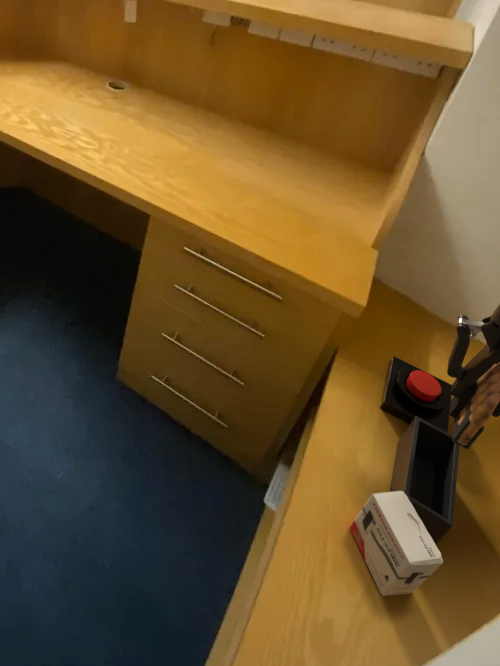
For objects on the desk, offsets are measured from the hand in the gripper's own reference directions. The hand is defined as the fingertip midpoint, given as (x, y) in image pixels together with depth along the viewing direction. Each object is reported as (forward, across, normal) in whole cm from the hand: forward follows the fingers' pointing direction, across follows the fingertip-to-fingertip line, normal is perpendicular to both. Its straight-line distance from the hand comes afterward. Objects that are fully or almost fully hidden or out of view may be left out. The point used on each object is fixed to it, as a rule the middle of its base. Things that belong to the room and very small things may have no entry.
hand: (463, 414), depth 76 cm
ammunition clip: (+1, 0, 0) cm, 1 cm away
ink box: (+20, -3, -16) cm, 26 cm away
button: (+16, -2, +16) cm, 23 cm away
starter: (+20, -2, +16) cm, 26 cm away
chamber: (+20, 0, -2) cm, 20 cm away
